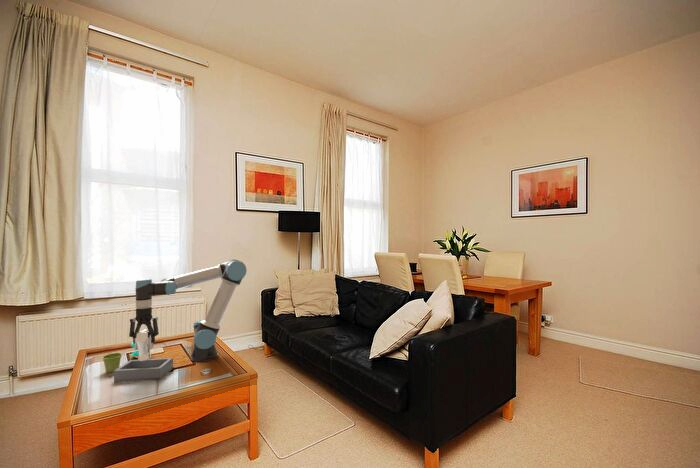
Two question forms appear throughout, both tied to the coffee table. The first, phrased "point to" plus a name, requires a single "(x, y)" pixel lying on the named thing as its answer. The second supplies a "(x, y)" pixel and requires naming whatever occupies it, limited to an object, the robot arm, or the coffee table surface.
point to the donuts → (135, 351)
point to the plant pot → (112, 361)
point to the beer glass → (143, 345)
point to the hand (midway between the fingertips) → (144, 349)
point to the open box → (143, 370)
